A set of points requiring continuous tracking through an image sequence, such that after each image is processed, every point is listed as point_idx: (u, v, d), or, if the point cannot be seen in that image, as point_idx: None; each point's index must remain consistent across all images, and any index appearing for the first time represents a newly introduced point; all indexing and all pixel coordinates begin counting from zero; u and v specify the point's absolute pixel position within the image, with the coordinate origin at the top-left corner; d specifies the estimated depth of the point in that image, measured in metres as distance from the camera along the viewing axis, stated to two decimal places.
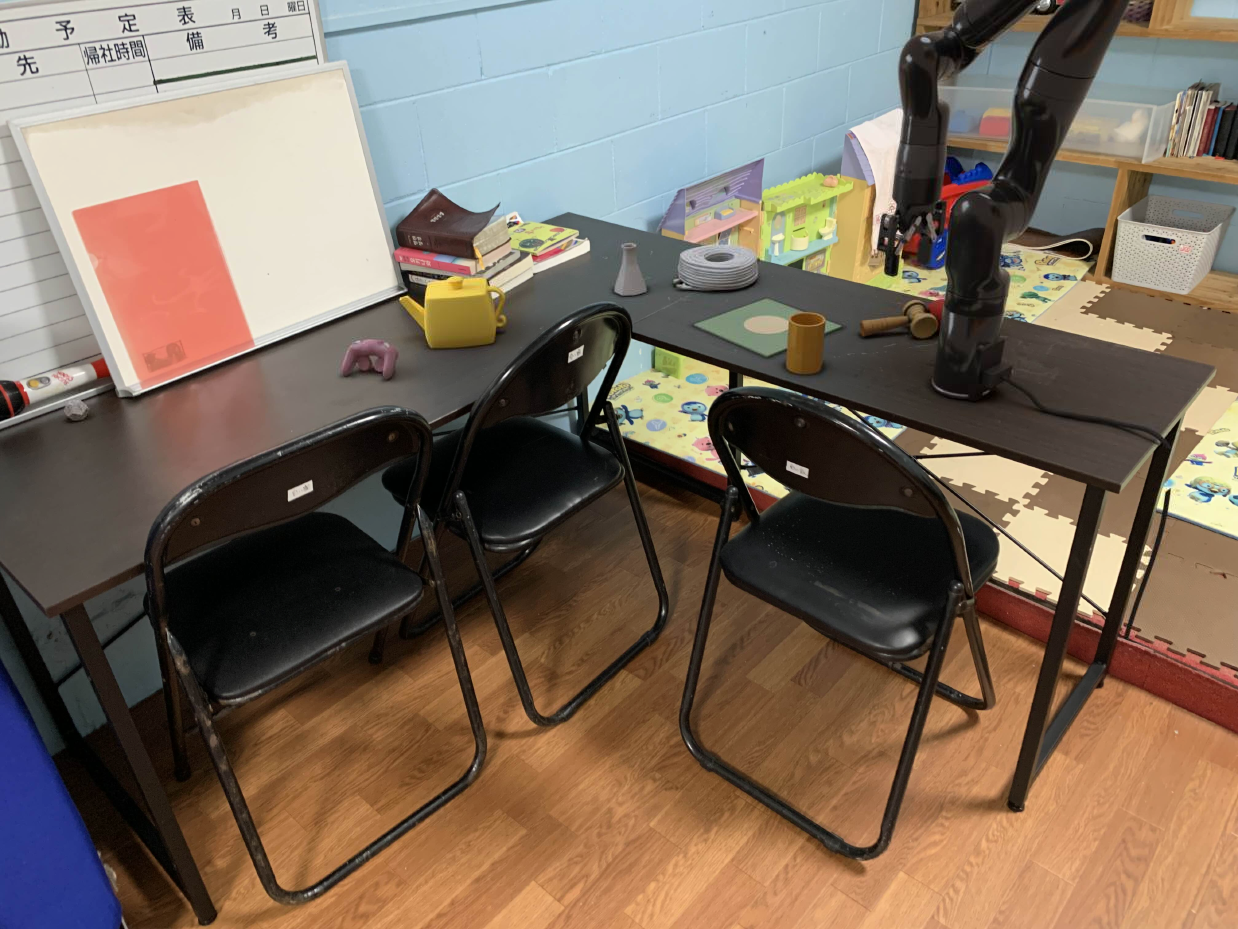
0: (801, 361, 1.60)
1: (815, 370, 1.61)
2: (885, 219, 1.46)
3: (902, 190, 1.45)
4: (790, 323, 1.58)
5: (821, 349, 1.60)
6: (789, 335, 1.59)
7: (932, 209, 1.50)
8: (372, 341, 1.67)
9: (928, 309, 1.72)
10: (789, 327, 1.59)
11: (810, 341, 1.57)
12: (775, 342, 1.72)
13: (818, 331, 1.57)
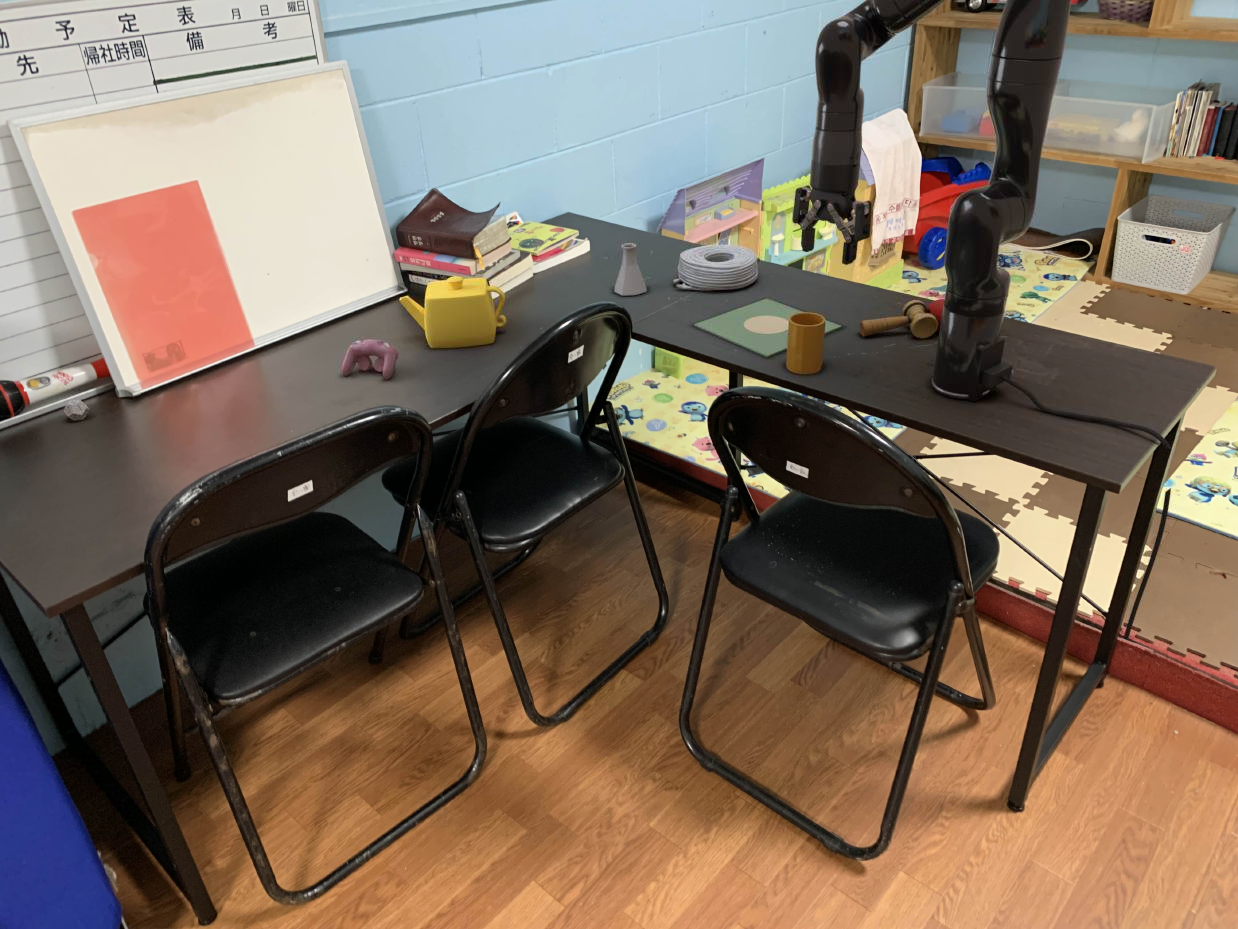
0: (801, 361, 1.60)
1: (815, 370, 1.61)
2: None
3: None
4: (790, 323, 1.58)
5: (821, 349, 1.60)
6: (789, 335, 1.59)
7: (843, 204, 1.45)
8: (372, 341, 1.67)
9: (928, 309, 1.72)
10: (789, 327, 1.59)
11: (810, 341, 1.57)
12: (775, 342, 1.72)
13: (818, 331, 1.57)
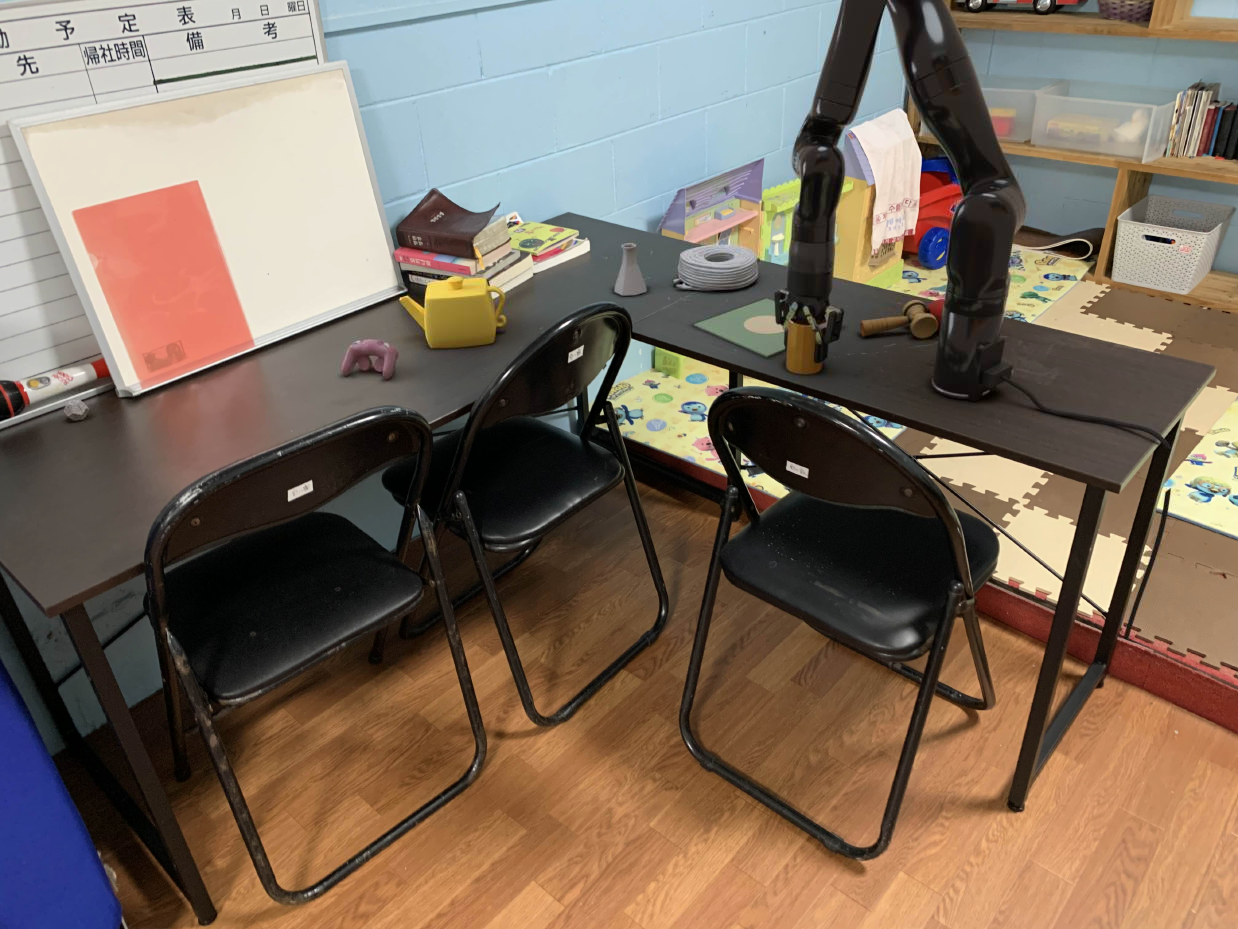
0: (801, 361, 1.60)
1: (815, 370, 1.61)
2: None
3: None
4: (790, 323, 1.58)
5: None
6: (789, 335, 1.59)
7: (818, 308, 1.54)
8: (372, 341, 1.67)
9: (928, 309, 1.72)
10: (789, 327, 1.59)
11: (810, 341, 1.57)
12: (775, 342, 1.72)
13: None
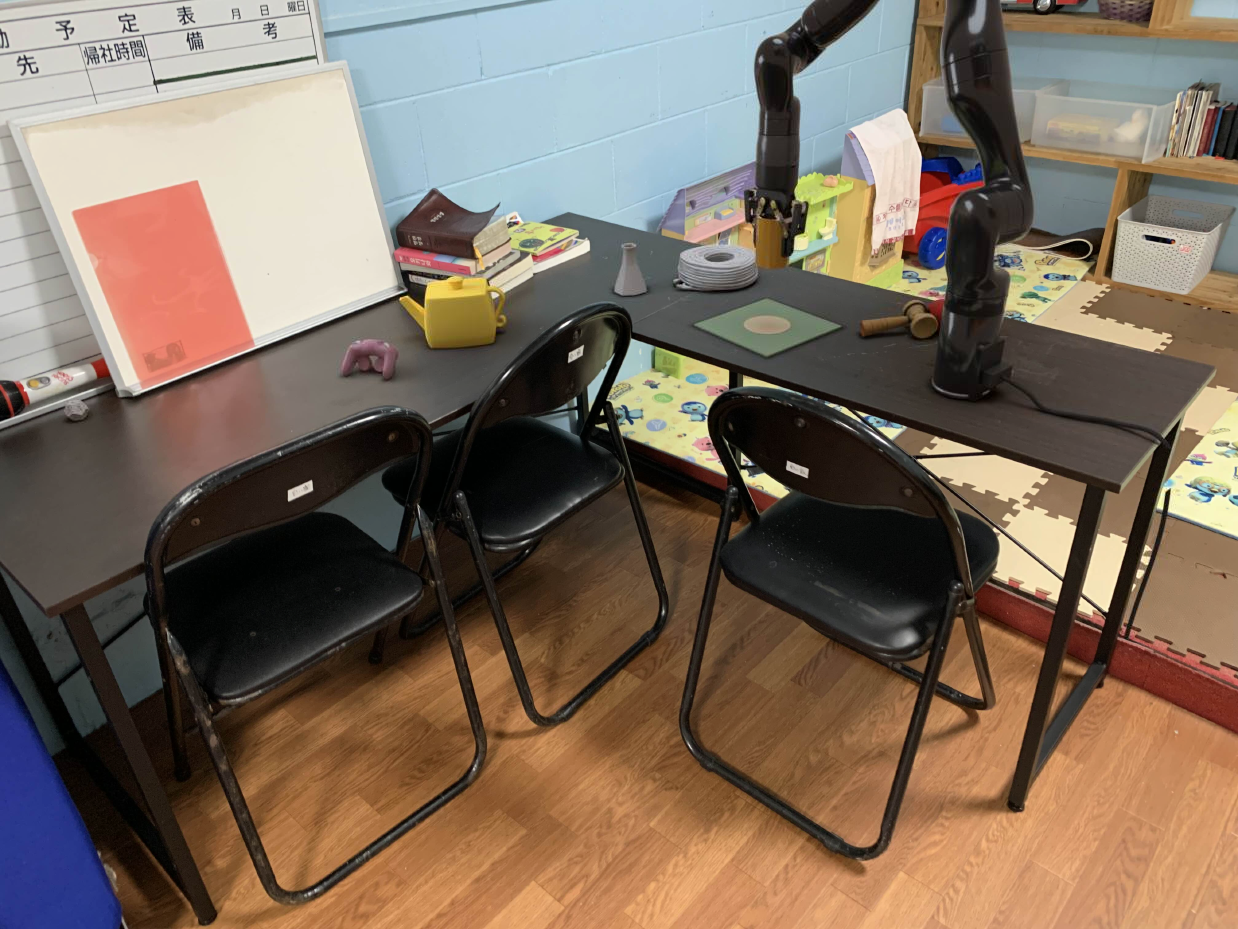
0: (769, 256, 1.67)
1: (783, 264, 1.68)
2: None
3: None
4: (758, 218, 1.66)
5: None
6: (757, 231, 1.67)
7: (784, 201, 1.62)
8: (372, 341, 1.67)
9: (928, 309, 1.72)
10: (757, 223, 1.66)
11: (777, 235, 1.65)
12: (775, 342, 1.72)
13: None
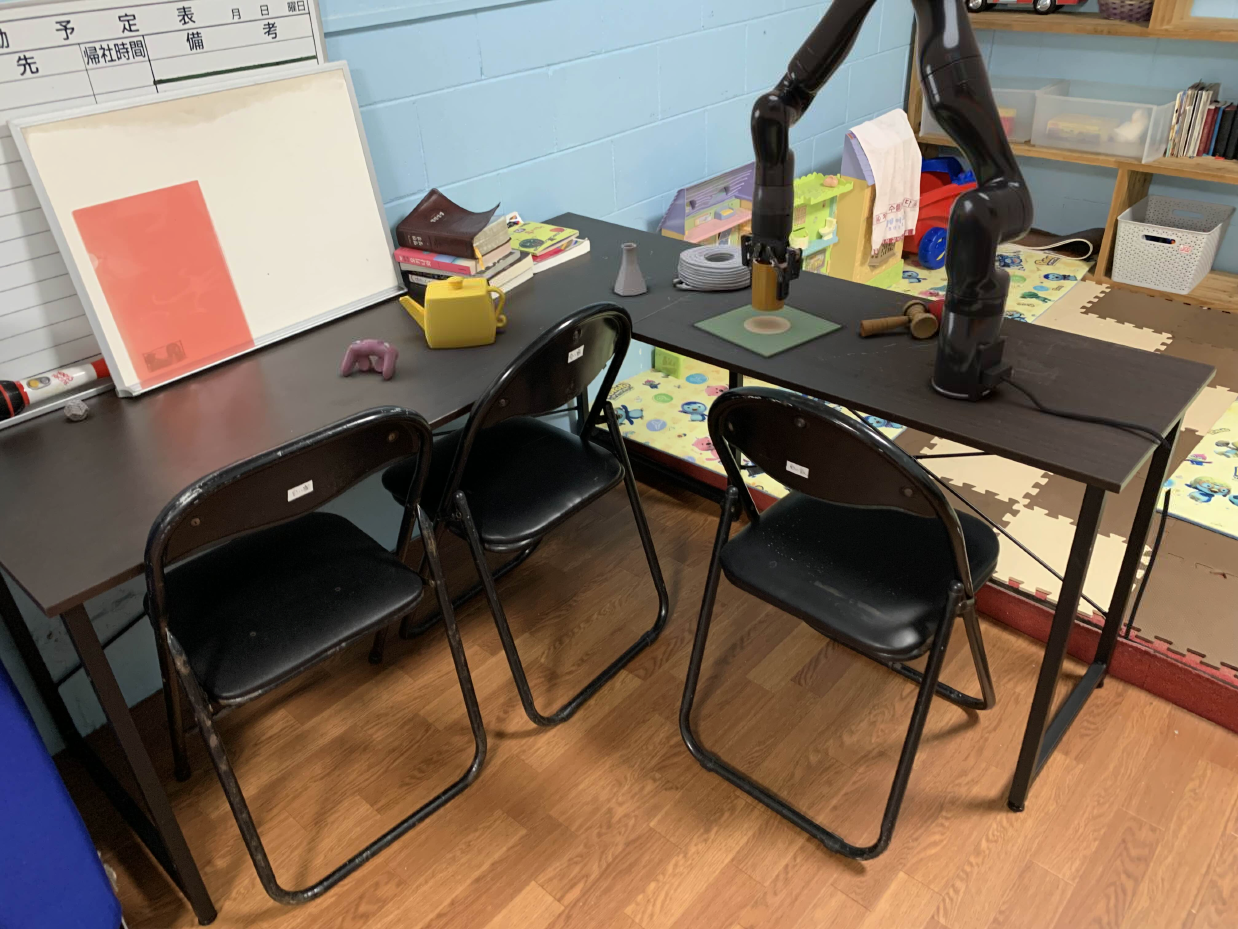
0: (765, 299, 1.73)
1: (778, 307, 1.74)
2: None
3: None
4: (754, 263, 1.72)
5: None
6: (753, 275, 1.73)
7: (779, 248, 1.68)
8: (372, 341, 1.67)
9: (928, 309, 1.72)
10: (753, 267, 1.72)
11: (772, 280, 1.71)
12: (775, 342, 1.72)
13: None
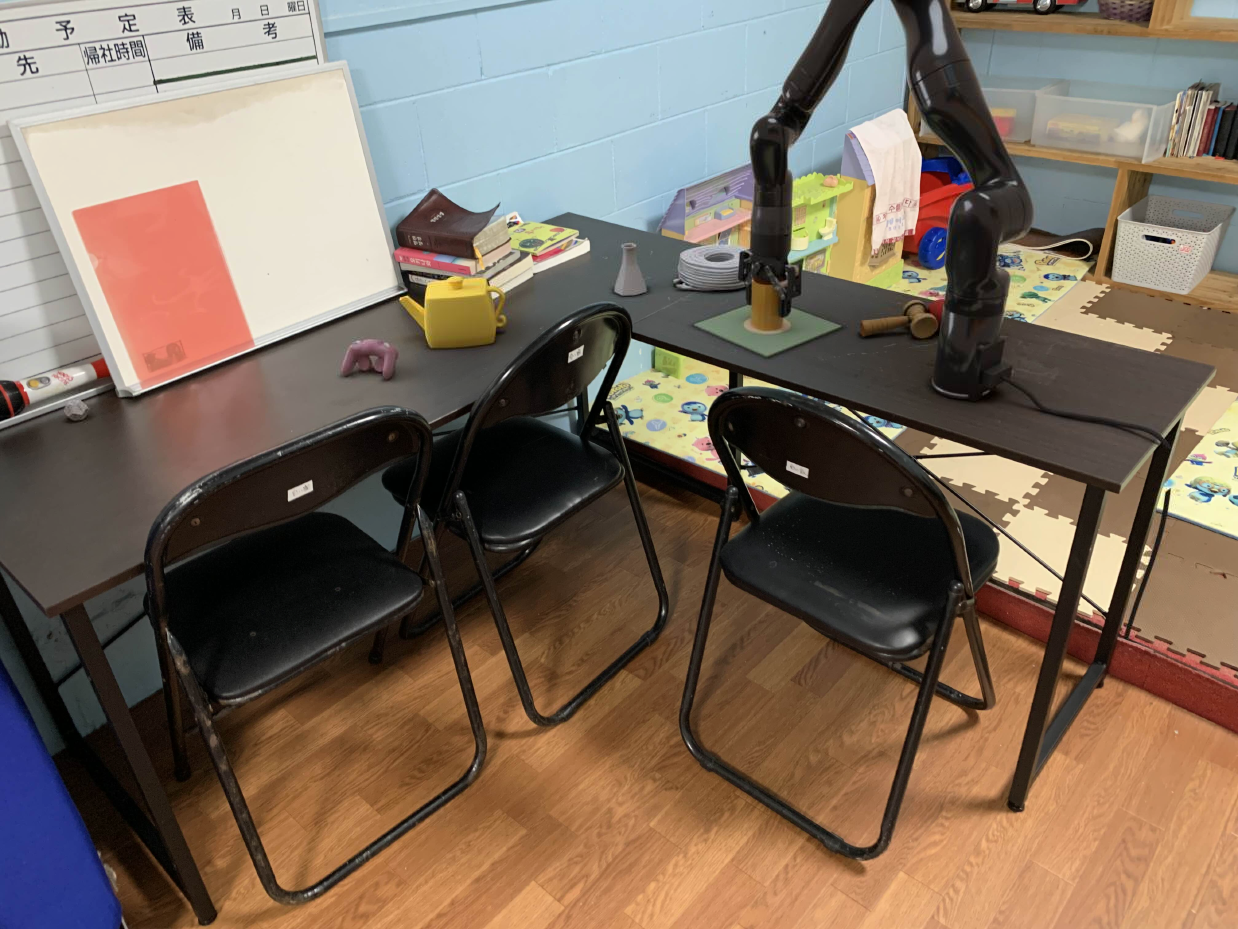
0: (764, 318, 1.75)
1: (777, 326, 1.76)
2: None
3: None
4: (753, 283, 1.74)
5: None
6: (752, 295, 1.75)
7: (778, 267, 1.70)
8: (372, 341, 1.67)
9: (928, 309, 1.72)
10: (752, 287, 1.74)
11: (771, 300, 1.73)
12: (775, 342, 1.72)
13: None
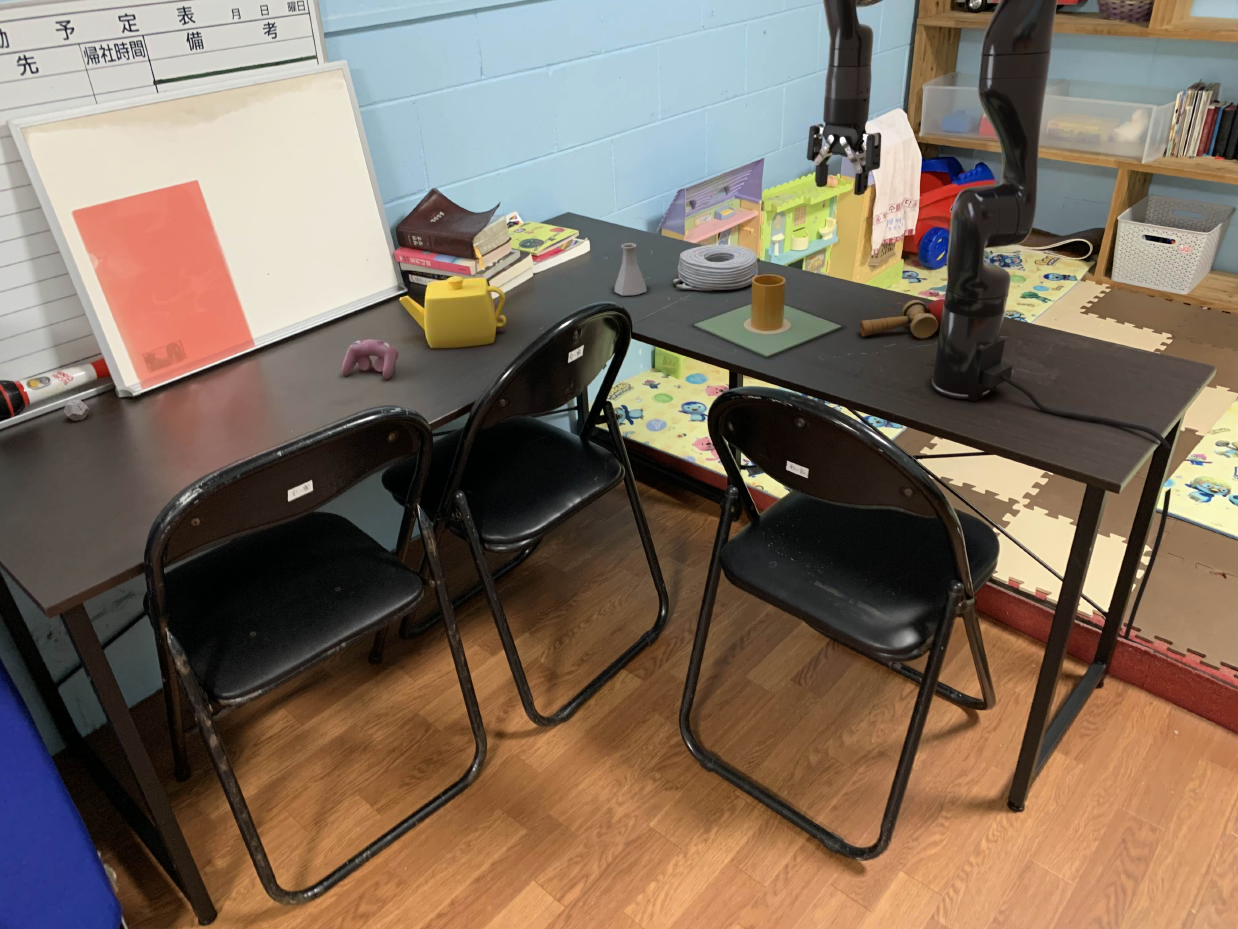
0: (764, 318, 1.75)
1: (777, 326, 1.76)
2: None
3: None
4: (753, 283, 1.74)
5: (782, 307, 1.75)
6: (752, 295, 1.75)
7: (855, 137, 1.57)
8: (372, 341, 1.67)
9: (928, 309, 1.72)
10: (752, 287, 1.74)
11: (771, 300, 1.73)
12: (775, 342, 1.72)
13: (778, 290, 1.73)
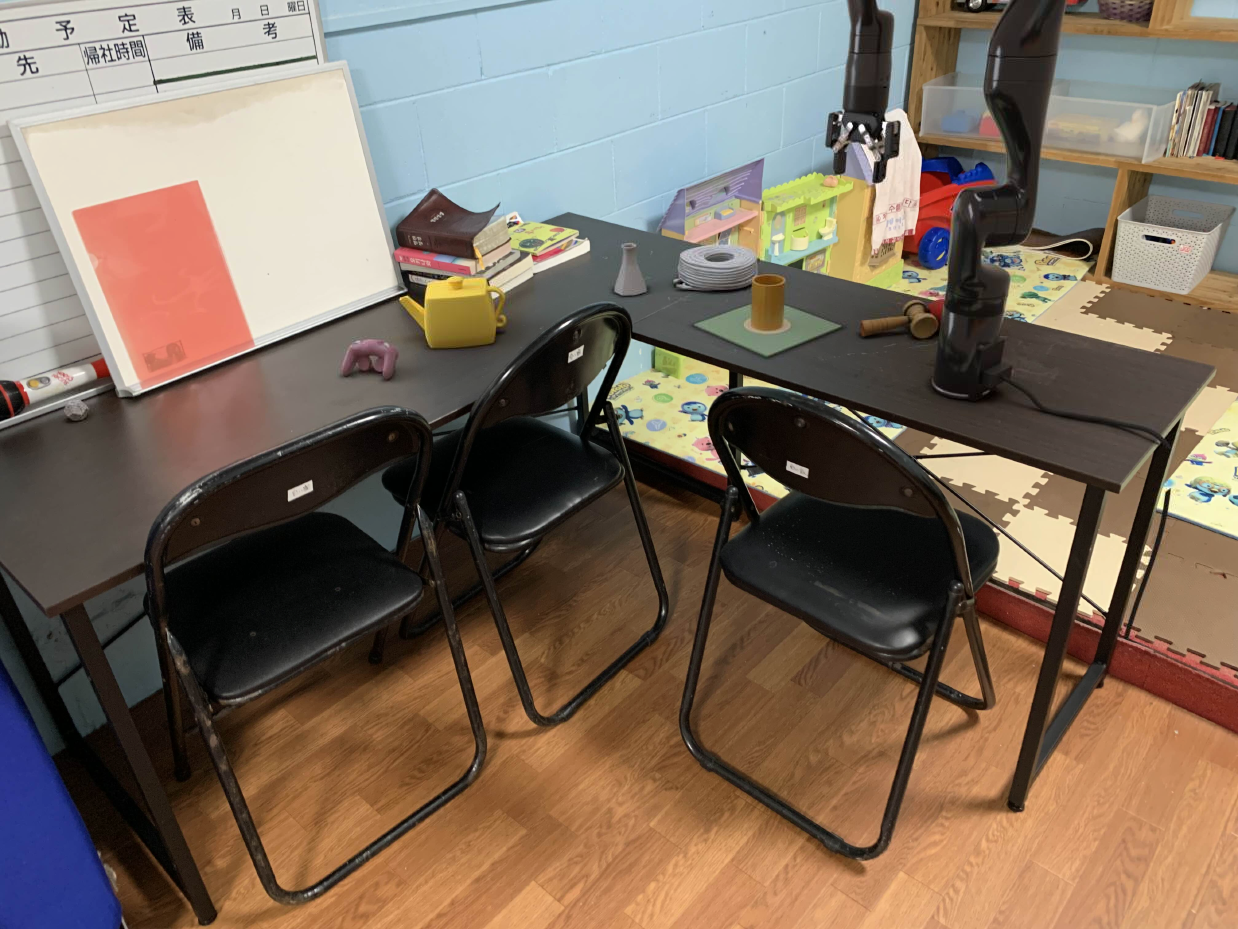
0: (764, 318, 1.75)
1: (777, 326, 1.76)
2: None
3: None
4: (753, 283, 1.74)
5: (782, 307, 1.75)
6: (752, 295, 1.75)
7: (874, 125, 1.55)
8: (372, 341, 1.67)
9: (928, 309, 1.72)
10: (752, 287, 1.74)
11: (771, 300, 1.73)
12: (775, 342, 1.72)
13: (778, 290, 1.73)
